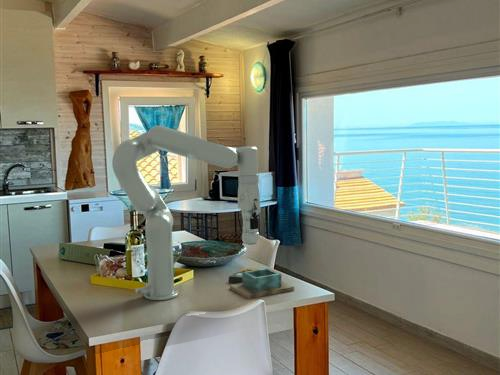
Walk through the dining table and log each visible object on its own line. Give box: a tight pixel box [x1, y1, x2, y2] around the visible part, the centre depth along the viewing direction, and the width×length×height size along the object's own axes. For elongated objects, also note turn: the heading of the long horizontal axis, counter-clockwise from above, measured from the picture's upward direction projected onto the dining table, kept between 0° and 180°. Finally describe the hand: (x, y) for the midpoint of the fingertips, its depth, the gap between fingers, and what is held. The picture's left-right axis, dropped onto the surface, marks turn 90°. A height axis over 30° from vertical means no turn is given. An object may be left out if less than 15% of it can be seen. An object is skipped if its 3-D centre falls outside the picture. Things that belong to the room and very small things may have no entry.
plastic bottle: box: [240, 203, 260, 246], centre depth 205 cm, size 6×7×20 cm
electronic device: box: [228, 267, 260, 284], centre depth 227 cm, size 8×16×3 cm, turn 154°
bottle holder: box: [229, 267, 295, 300], centre depth 211 cm, size 20×15×6 cm
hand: (250, 227), depth 206 cm, fingers closed on plastic bottle, 5 cm apart
